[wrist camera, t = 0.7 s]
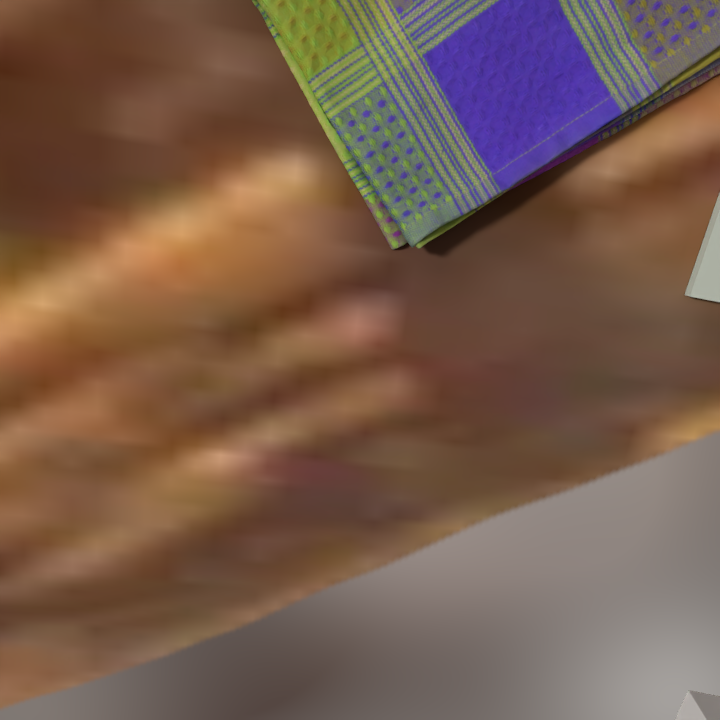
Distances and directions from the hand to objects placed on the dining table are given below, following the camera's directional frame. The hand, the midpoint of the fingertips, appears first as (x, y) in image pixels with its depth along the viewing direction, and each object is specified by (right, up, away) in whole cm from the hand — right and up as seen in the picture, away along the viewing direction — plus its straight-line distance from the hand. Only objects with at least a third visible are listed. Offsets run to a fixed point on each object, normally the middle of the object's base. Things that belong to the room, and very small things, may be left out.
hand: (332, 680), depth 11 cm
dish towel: (+9, +25, +20) cm, 34 cm away
